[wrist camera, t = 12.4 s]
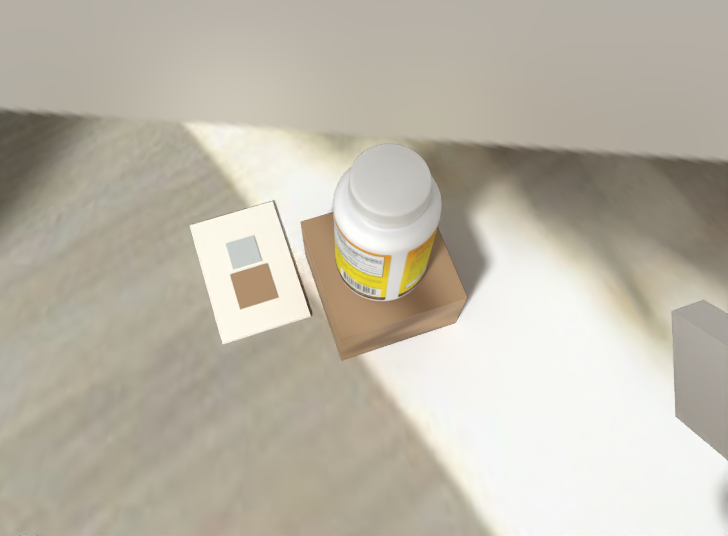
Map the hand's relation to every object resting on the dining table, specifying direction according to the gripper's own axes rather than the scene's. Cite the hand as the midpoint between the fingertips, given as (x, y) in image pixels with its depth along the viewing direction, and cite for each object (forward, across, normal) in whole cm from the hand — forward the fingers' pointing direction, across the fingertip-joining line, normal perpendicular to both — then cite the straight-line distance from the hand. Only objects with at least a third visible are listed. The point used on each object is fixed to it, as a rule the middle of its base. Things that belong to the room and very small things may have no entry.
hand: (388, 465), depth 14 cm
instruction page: (+34, -2, -8) cm, 35 cm away
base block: (+31, +6, -11) cm, 33 cm away
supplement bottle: (+27, +6, -8) cm, 29 cm away
